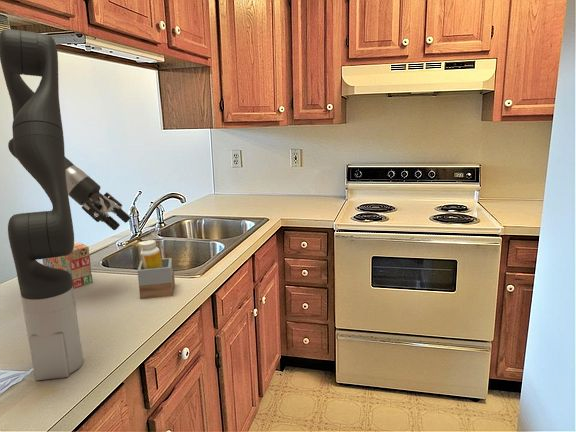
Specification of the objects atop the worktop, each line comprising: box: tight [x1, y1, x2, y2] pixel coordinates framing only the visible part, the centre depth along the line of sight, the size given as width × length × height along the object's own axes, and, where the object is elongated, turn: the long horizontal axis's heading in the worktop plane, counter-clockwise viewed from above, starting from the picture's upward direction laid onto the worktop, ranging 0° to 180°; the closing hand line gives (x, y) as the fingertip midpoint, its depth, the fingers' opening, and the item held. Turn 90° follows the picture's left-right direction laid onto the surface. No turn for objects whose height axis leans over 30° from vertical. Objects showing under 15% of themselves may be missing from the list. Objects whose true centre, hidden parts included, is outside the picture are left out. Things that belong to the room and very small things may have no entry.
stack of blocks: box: [41, 240, 93, 290], centre depth 139 cm, size 21×6×12 cm, turn 50°
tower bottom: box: [138, 271, 176, 300], centre depth 128 cm, size 9×9×4 cm
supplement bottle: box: [140, 239, 163, 269], centre depth 126 cm, size 5×5×10 cm
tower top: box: [137, 257, 174, 287], centre depth 127 cm, size 9×9×4 cm
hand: (123, 224), depth 124 cm, fingers open, 8 cm apart
